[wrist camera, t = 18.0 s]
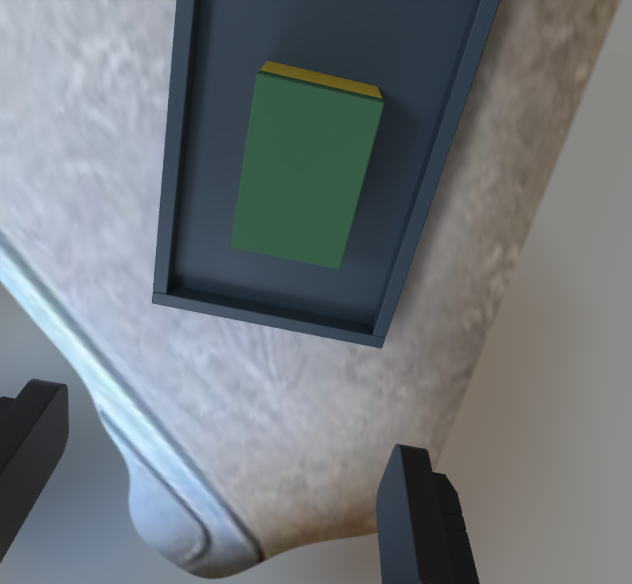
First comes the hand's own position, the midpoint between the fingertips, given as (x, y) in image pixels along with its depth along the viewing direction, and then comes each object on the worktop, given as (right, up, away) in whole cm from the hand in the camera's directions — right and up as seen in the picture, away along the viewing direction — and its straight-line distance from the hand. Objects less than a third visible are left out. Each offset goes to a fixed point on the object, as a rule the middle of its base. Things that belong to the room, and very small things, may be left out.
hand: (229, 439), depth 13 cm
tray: (+2, +11, +16) cm, 19 cm away
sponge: (+2, +11, +15) cm, 18 cm away
